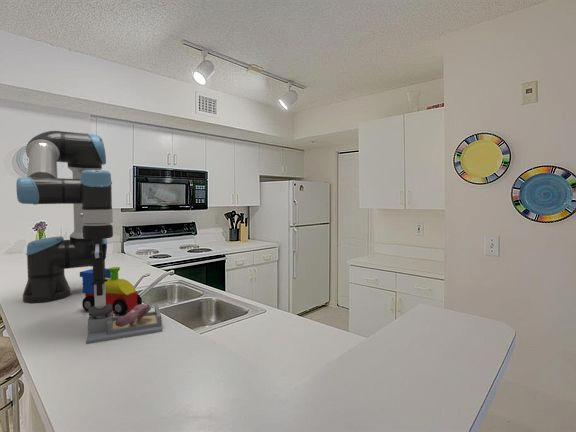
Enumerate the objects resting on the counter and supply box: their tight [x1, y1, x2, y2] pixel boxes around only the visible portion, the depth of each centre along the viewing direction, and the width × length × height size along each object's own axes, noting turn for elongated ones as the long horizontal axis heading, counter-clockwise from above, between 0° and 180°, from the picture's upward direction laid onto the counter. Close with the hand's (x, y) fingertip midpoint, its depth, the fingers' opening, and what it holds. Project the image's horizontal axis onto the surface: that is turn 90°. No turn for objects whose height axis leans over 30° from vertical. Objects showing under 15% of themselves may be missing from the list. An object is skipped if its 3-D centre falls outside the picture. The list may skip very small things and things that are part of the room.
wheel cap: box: [87, 304, 112, 318], centre depth 96 cm, size 6×6×6 cm
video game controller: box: [115, 302, 152, 327], centre depth 99 cm, size 10×5×7 cm
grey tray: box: [85, 304, 163, 345], centre depth 99 cm, size 16×19×4 cm
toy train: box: [79, 266, 143, 316], centre depth 114 cm, size 9×20×15 cm, turn 75°
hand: (100, 305), depth 96 cm, fingers closed
